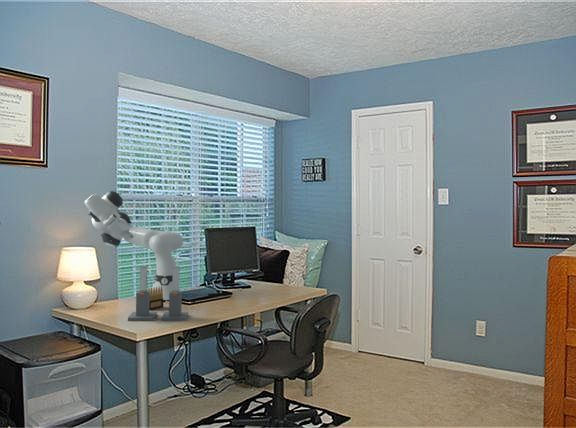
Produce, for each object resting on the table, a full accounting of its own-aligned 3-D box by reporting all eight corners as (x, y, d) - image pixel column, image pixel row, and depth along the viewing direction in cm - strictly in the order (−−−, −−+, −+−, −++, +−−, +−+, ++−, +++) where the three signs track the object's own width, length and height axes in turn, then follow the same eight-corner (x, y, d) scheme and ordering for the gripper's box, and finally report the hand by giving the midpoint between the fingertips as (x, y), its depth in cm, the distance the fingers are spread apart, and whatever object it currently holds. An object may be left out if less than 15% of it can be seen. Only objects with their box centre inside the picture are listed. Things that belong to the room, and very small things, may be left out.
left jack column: (140, 299, 253) (141, 266, 253) (146, 299, 253) (147, 266, 253) (139, 300, 250) (139, 267, 249) (145, 301, 250) (146, 267, 250)
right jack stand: (164, 314, 259) (165, 264, 258) (188, 314, 261) (189, 265, 260) (161, 320, 247) (162, 268, 246) (186, 320, 249) (187, 268, 248)
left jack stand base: (132, 314, 257) (133, 289, 257) (156, 314, 259) (157, 289, 258) (127, 320, 246) (128, 293, 245) (152, 320, 247) (153, 294, 246)
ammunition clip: (148, 310, 267) (148, 288, 267) (145, 310, 268) (146, 287, 268) (163, 307, 276) (164, 285, 276) (161, 306, 277) (161, 285, 277)
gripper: (111, 222, 268) (130, 241, 270) (102, 224, 248) (122, 244, 250) (120, 214, 269) (138, 232, 270) (112, 215, 249) (132, 235, 250)
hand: (131, 238), depth 260 cm, fingers open, 8 cm apart
